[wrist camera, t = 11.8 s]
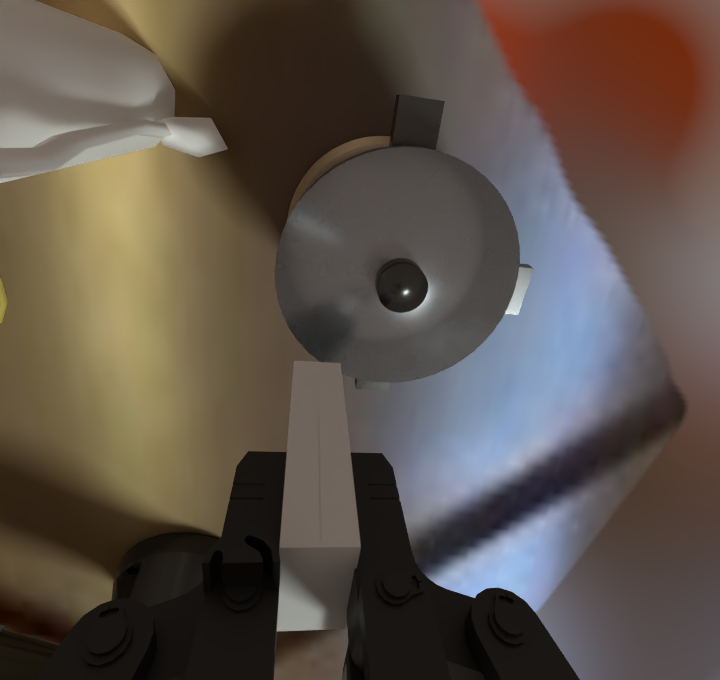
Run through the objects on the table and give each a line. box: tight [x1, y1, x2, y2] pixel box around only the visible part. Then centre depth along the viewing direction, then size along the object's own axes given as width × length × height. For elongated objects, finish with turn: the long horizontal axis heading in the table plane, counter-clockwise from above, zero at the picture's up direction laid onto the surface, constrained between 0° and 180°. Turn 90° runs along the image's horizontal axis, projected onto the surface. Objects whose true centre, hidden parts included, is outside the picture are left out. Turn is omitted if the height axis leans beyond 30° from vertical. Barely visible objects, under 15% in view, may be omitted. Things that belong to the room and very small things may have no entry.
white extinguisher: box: [0, 0, 228, 183], centre depth 16 cm, size 7×12×25 cm, turn 61°
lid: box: [275, 146, 534, 382], centre depth 24 cm, size 15×14×2 cm
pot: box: [301, 95, 445, 390], centre depth 28 cm, size 14×18×8 cm
